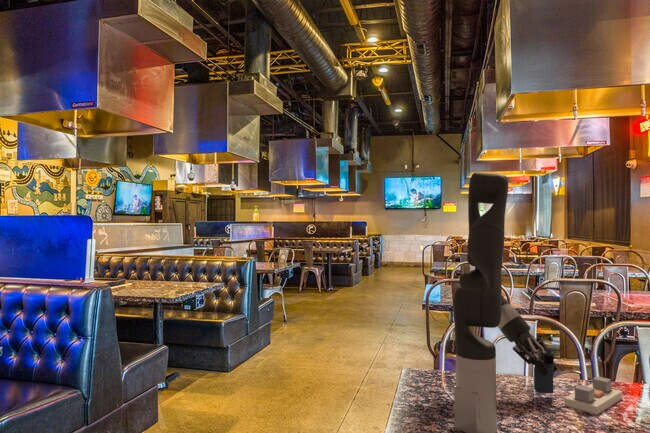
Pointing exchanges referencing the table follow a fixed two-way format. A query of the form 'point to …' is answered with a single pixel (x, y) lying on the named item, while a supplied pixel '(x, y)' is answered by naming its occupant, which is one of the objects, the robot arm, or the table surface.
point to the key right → (602, 384)
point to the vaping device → (545, 382)
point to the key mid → (598, 393)
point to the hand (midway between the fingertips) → (551, 372)
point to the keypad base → (594, 401)
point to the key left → (584, 393)
